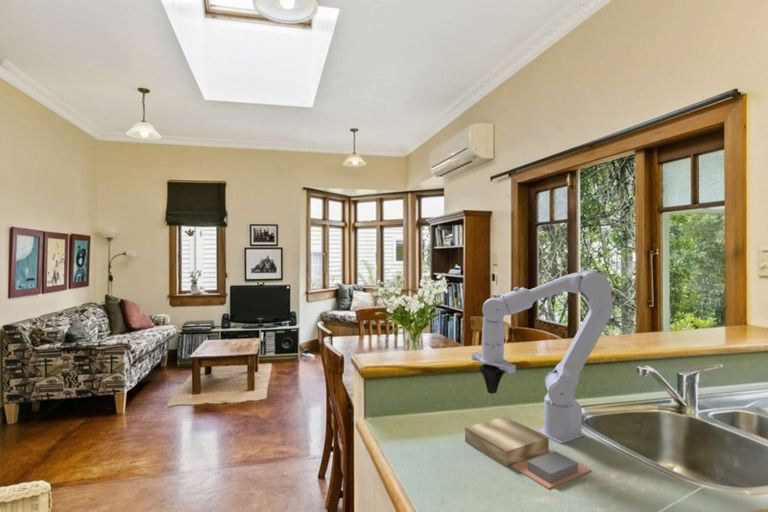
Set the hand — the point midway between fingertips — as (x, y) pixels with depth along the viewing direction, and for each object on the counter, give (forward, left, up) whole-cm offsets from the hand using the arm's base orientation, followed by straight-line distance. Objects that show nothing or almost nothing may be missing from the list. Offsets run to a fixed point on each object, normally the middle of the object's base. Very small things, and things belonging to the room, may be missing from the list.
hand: (492, 392), depth 117 cm
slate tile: (+5, +24, -7) cm, 25 cm away
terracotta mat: (+4, +23, -9) cm, 25 cm away
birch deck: (+5, +10, -9) cm, 15 cm away
